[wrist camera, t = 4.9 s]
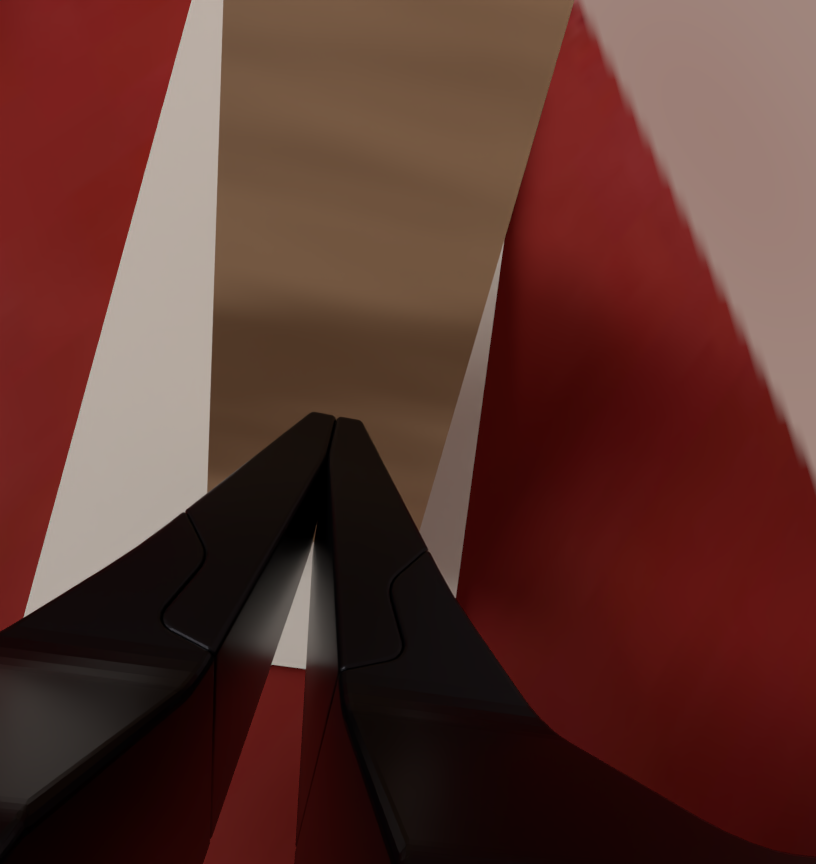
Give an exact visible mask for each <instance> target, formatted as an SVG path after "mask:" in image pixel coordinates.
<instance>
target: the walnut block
mask: <svg viewBox="0 0 816 864" xmlns="http://www.w3.org/2000/svg"><path fill="white" fill-rule="evenodd" d="M573 3H574V0H223V25H222V55H221V86H220V116H219V146H218V177H217V207H216V237H215V268H214V298H213V328H212V359H211V389H210V420H209V450H208V480H207V493H208V492H209V491H210V490H212V489H213V488H214V487H216V486H217V485H218V484H219V483H221V482H222V481H223V480H225V479H226V478H227V477H228V476H230V475H231V474H232V473H233V472H235V471H236V470H237V469H239V468H240V467H241V466H242V465H244V464H245V463H246V462H248V461H249V460H250V459H251V458H253V457H254V456H255V455H256V454H258V453H259V452H260V451H262V450H263V449H264V448H265V447H267V446H268V445H269V444H271V443H272V442H273V441H274V440H276V439H277V438H278V437H279V436H281V435H282V434H283V433H285V432H286V431H287V430H288V429H290V428H291V427H292V426H294V425H295V424H296V423H297V422H299V421H300V420H301V419H303V418H304V417H305V416H306V415H308V414H309V413H310V412H319V413H324V414H330V415H333V416H335V418H336V419H337V418H338V417H346V418H352V419H357V420H360V421H362V422H363V424H364V426H365V428H366V430H367V432H368V434H369V436H370V438H371V440H372V442H373V443H374V445H375V447H376V449H377V451H378V453H379V455H380V457H381V459H382V461H383V463H384V465H385V467H386V469H387V470H388V472H389V474H390V476H391V478H392V480H393V482H394V484H395V486H396V488H397V490H398V492H399V494H400V495H401V497H402V499H403V501H404V503H405V505H406V507H407V509H408V511H409V513H410V515H411V517H412V519H413V521H414V522H415V524H416V526H417V528H418V530H419V531H420V528H421V524H422V521H423V517H424V514H425V510H426V507H427V504H428V500H429V497H430V493H431V490H432V486H433V483H434V480H435V476H436V473H437V469H438V466H439V462H440V459H441V456H442V452H443V449H444V445H445V442H446V438H447V435H448V431H449V428H450V425H451V421H452V418H453V414H454V411H455V407H456V404H457V401H458V397H459V394H460V390H461V387H462V383H463V380H464V377H465V373H466V370H467V366H468V363H469V359H470V356H471V353H472V349H473V346H474V342H475V339H476V335H477V332H478V329H479V325H480V322H481V318H482V315H483V311H484V308H485V305H486V301H487V298H488V294H489V291H490V287H491V284H492V281H493V277H494V274H495V270H496V267H497V263H498V260H499V256H500V253H501V250H502V246H503V243H504V239H505V236H506V232H507V229H508V226H509V222H510V219H511V215H512V212H513V208H514V205H515V202H516V198H517V195H518V191H519V188H520V184H521V181H522V178H523V174H524V171H525V167H526V164H527V160H528V157H529V154H530V150H531V147H532V143H533V140H534V136H535V133H536V130H537V126H538V123H539V119H540V116H541V112H542V109H543V106H544V102H545V99H546V95H547V92H548V88H549V85H550V82H551V78H552V75H553V71H554V68H555V64H556V61H557V57H558V54H559V51H560V47H561V44H562V40H563V37H564V33H565V30H566V27H567V23H568V20H569V16H570V13H571V9H572V6H573ZM316 526H317V525H316ZM315 532H316V530H315ZM314 538H315V535H314ZM313 542H314V539H313Z"/></svg>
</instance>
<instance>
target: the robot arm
mask: <svg viewBox="0 0 816 864" xmlns="http://www.w3.org/2000/svg"><path fill="white" fill-rule="evenodd" d="M316 525H317V526H316ZM315 530H316V532H315ZM314 535H315V538H314ZM313 539H314V545H313V556H312V572H311V589H310V606H309V623H308V640H307V658H306V675H305V692H304V709H303V726H302V744H301V761H300V778H299V795H298V812H297V829H296V851H295V863H294V864H816V857H813V856H804V855H795V854H790V853H785V852H780V851H775V850H772V849H769V848H765V847H762V846H759V845H756V844H753V843H751V842H748V841H746V840H744V839H741V838H739V837H737V836H734V835H732V834H730V833H727V832H725V831H723V830H721V829H719V828H717V827H716V826H714V825H712V824H710V823H708V822H706V821H704V820H702V819H701V818H699V817H697V816H695V815H694V814H692V813H690V812H689V811H687V810H685V809H683V808H682V807H680V806H678V805H677V804H675V803H673V802H671V801H670V800H668V799H666V798H665V797H663V796H661V795H659V794H658V793H656V792H654V791H653V790H651V789H649V788H647V787H646V786H644V785H642V784H640V783H639V782H637V781H635V780H634V779H632V778H630V777H628V776H627V775H625V774H623V773H622V772H620V771H618V770H616V769H615V768H613V767H611V766H610V765H608V764H606V763H604V762H603V761H601V760H599V759H598V758H596V757H594V756H592V755H591V754H589V753H587V752H586V751H584V750H582V749H580V748H579V747H577V746H575V745H574V744H572V743H570V742H569V741H567V740H565V739H564V738H562V737H561V736H559V735H558V734H557V733H556V732H554V731H553V730H552V729H551V728H550V727H549V726H548V725H547V724H546V723H545V722H544V721H543V720H542V719H541V718H540V717H539V716H538V715H537V714H536V713H535V712H534V710H533V709H532V708H531V707H530V706H529V704H528V703H527V702H526V700H525V699H524V698H523V696H522V695H521V694H520V692H519V691H518V689H517V688H516V686H515V685H514V683H513V682H512V681H511V679H510V678H509V676H508V675H507V673H506V672H505V670H504V669H503V668H502V666H501V665H500V663H499V662H498V660H497V659H496V657H495V656H494V655H493V653H492V652H491V650H490V649H489V647H488V646H487V645H486V643H485V642H484V640H483V639H482V637H481V636H480V634H479V633H478V632H477V630H476V629H475V627H474V626H473V624H472V623H471V621H470V620H469V618H468V617H467V615H466V614H465V612H464V611H463V609H462V608H461V606H460V604H459V603H458V601H457V600H456V598H455V597H454V595H453V593H452V592H451V590H450V588H449V586H448V585H447V583H446V581H445V579H444V578H443V576H442V574H441V572H440V570H439V569H438V567H437V565H436V563H435V561H434V559H433V557H432V555H431V553H430V552H428V548H427V546H426V544H425V542H424V540H423V538H422V536H421V534H420V532H419V530H418V528H417V526H416V524H415V522H414V521H413V519H412V517H411V515H410V513H409V511H408V509H407V507H406V505H405V503H404V501H403V499H402V497H401V495H400V494H399V492H398V490H397V488H396V486H395V484H394V482H393V480H392V478H391V476H390V474H389V472H388V470H387V469H386V467H385V465H384V463H383V461H382V459H381V457H380V455H379V453H378V451H377V449H376V447H375V445H374V443H373V442H372V440H371V438H370V436H369V434H368V432H367V430H366V428H365V426H364V424H363V422H362V421H360V420H357V419H352V418H346V417H338V418H337V419H336V418H335V416H333V415H330V414H324V413H319V412H310V413H309V414H308V415H306V416H305V417H304V418H303V419H301V420H300V421H299V422H297V423H296V424H295V425H294V426H292V427H291V428H290V429H288V430H287V431H286V432H285V433H283V434H282V435H281V436H279V437H278V438H277V439H276V440H274V441H273V442H272V443H271V444H269V445H268V446H267V447H265V448H264V449H263V450H262V451H260V452H259V453H258V454H256V455H255V456H254V457H253V458H251V459H250V460H249V461H248V462H246V463H245V464H244V465H242V466H241V467H240V468H239V469H237V470H236V471H235V472H233V473H232V474H231V475H230V476H228V477H227V478H226V479H225V480H223V481H222V482H221V483H219V484H218V485H217V486H216V487H214V488H213V489H212V490H210V491H209V492H208V493H207V494H205V495H204V496H203V497H201V498H200V499H199V500H198V501H196V502H195V503H194V504H193V505H191V506H190V507H189V508H187V509H186V511H185V512H182V513H181V514H179V515H178V516H177V517H176V518H174V519H173V520H172V521H170V522H169V523H168V524H167V525H165V526H164V527H163V528H161V529H160V530H159V531H157V532H156V533H154V534H153V535H152V536H150V537H149V538H148V539H146V540H145V541H144V542H142V543H141V544H139V545H138V546H137V547H135V548H134V549H132V550H131V551H129V552H128V553H126V554H124V555H123V556H121V557H120V558H118V559H117V560H115V561H114V562H112V563H111V564H109V565H108V566H106V567H105V568H103V569H101V570H100V571H98V572H97V573H95V574H93V575H92V576H90V577H89V578H87V579H85V580H84V581H82V582H80V583H79V584H77V585H76V586H74V587H72V588H71V589H69V590H67V591H66V592H64V593H63V594H61V595H59V596H58V597H56V598H55V599H53V600H51V601H50V602H48V603H46V604H45V605H43V606H42V607H40V608H38V609H37V610H35V611H34V612H32V613H30V614H29V615H27V616H25V617H24V618H22V619H21V620H19V621H17V622H16V623H14V624H12V625H11V626H9V627H7V628H6V629H4V630H2V631H0V864H203V862H204V859H205V856H206V853H207V850H208V847H209V844H210V839H211V837H212V835H213V832H214V829H215V826H216V824H217V821H218V818H219V815H220V812H221V809H222V806H223V803H224V800H225V797H226V795H227V792H228V789H229V786H230V783H231V780H232V777H233V774H234V771H235V768H236V765H237V763H238V760H239V757H240V754H241V751H242V748H243V745H244V742H245V739H246V736H247V734H248V731H249V728H250V725H251V722H252V719H253V716H254V713H255V710H256V707H257V704H258V702H259V699H260V696H261V693H262V690H263V687H264V684H265V681H266V678H267V675H268V673H269V670H270V667H271V664H272V661H273V658H274V655H275V652H276V649H277V646H278V644H279V641H280V638H281V635H282V632H283V629H284V626H285V623H286V620H287V617H288V614H289V612H290V609H291V606H292V603H293V600H294V597H295V594H296V591H297V588H298V585H299V583H300V580H301V577H302V574H303V571H304V568H305V565H306V562H307V559H308V556H309V553H310V550H311V547H312V543H313Z"/></svg>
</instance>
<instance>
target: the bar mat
mask: <svg viewBox="0 0 816 864" xmlns="http://www.w3.org/2000/svg"><path fill="white" fill-rule="evenodd" d="M222 25H223V0H192V1H191V5H190V8H189V12H188V16H187V19H186V23H185V27H184V31H183V34H182V38H181V42H180V45H179V49H178V53H177V56H176V60H175V64H174V67H173V71H172V75H171V78H170V82H169V86H168V89H167V93H166V97H165V100H164V104H163V108H162V111H161V115H160V119H159V122H158V126H157V130H156V133H155V137H154V141H153V144H152V148H151V152H150V155H149V159H148V163H147V166H146V170H145V174H144V177H143V181H142V185H141V188H140V192H139V196H138V199H137V203H136V207H135V210H134V214H133V218H132V221H131V225H130V229H129V232H128V236H127V240H126V243H125V247H124V251H123V254H122V258H121V262H120V265H119V269H118V273H117V276H116V280H115V284H114V287H113V291H112V295H111V298H110V302H109V306H108V309H107V313H106V317H105V320H104V324H103V328H102V331H101V335H100V339H99V342H98V346H97V350H96V354H95V357H94V361H93V365H92V368H91V372H90V376H89V379H88V383H87V387H86V390H85V394H84V398H83V401H82V405H81V409H80V412H79V416H78V420H77V423H76V427H75V431H74V434H73V438H72V442H71V445H70V449H69V453H68V456H67V460H66V464H65V467H64V471H63V475H62V478H61V482H60V486H59V489H58V493H57V497H56V500H55V504H54V508H53V511H52V515H51V519H50V522H49V526H48V530H47V533H46V537H45V541H44V544H43V548H42V552H41V555H40V559H39V563H38V566H37V570H36V574H35V577H34V581H33V585H32V588H31V592H30V596H29V599H28V603H27V607H26V610H25V614H24V617H25V616H27V615H29V614H30V613H32V612H34V611H35V610H37V609H38V608H40V607H42V606H43V605H45V604H46V603H48V602H50V601H51V600H53V599H55V598H56V597H58V596H59V595H61V594H63V593H64V592H66V591H67V590H69V589H71V588H72V587H74V586H76V585H77V584H79V583H80V582H82V581H84V580H85V579H87V578H89V577H90V576H92V575H93V574H95V573H97V572H98V571H100V570H101V569H103V568H105V567H106V566H108V565H109V564H111V563H112V562H114V561H115V560H117V559H118V558H120V557H121V556H123V555H124V554H126V553H128V552H129V551H131V550H132V549H134V548H135V547H137V546H138V545H139V544H141V543H142V542H144V541H145V540H146V539H148V538H149V537H150V536H152V535H153V534H154V533H156V532H157V531H159V530H160V529H161V528H163V527H164V526H165V525H167V524H168V523H169V522H170V521H172V520H173V519H174V518H176V517H177V516H178V515H179V514H181V513H182V512H185V511H186V509H187V508H189V507H190V506H191V505H193V504H194V503H195V502H196V501H198V500H199V499H200V498H201V497H203V496H204V495H205V494H207V480H208V450H209V420H210V389H211V359H212V328H213V298H214V268H215V237H216V207H217V177H218V146H219V116H220V86H221V55H222ZM503 246H504V243H503ZM503 246H502V250H501V253H500V256H499V260H498V263H497V267H496V270H495V274H494V277H493V281H492V284H491V287H490V291H489V294H488V298H487V301H486V305H485V308H484V311H483V315H482V318H481V322H480V325H479V329H478V332H477V335H476V339H475V342H474V346H473V349H472V353H471V356H470V359H469V363H468V366H467V370H466V373H465V377H464V380H463V383H462V387H461V390H460V394H459V397H458V401H457V404H456V407H455V411H454V414H453V418H452V421H451V425H450V428H449V431H448V435H447V438H446V442H445V445H444V449H443V452H442V456H441V459H440V462H439V466H438V469H437V473H436V476H435V480H434V483H433V486H432V490H431V493H430V497H429V500H428V504H427V507H426V510H425V514H424V517H423V521H422V524H421V528H420V531H419V532H420V534H421V536H422V538H423V540H424V542H425V544H426V546H427V548H428V552H430V553H431V555H432V557H433V559H434V561H435V563H436V565H437V567H438V569H439V570H440V572H441V574H442V576H443V578H444V579H445V581H446V583H447V585H448V586H449V588H450V590H451V592H452V593H453V595H454V597H455V598H456V593H457V586H458V578H459V571H460V563H461V556H462V549H463V541H464V534H465V526H466V519H467V512H468V504H469V497H470V490H471V482H472V475H473V467H474V460H475V453H476V445H477V438H478V430H479V423H480V416H481V408H482V401H483V394H484V386H485V379H486V371H487V364H488V357H489V349H490V342H491V334H492V327H493V320H494V312H495V305H496V297H497V290H498V283H499V275H500V268H501V261H502V253H503ZM313 545H314V542H313V543H312V547H311V550H310V553H309V556H308V559H307V562H306V565H305V568H304V571H303V574H302V577H301V580H300V583H299V585H298V588H297V591H296V594H295V597H294V600H293V603H292V606H291V609H290V612H289V614H288V617H287V620H286V623H285V626H284V629H283V632H282V635H281V638H280V641H279V644H278V646H277V649H276V652H275V655H274V658H273V661H272V664H271V665H279V666H286V667H294V668H302V669H306V658H307V640H308V623H309V606H310V589H311V572H312V556H313Z"/></svg>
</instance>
